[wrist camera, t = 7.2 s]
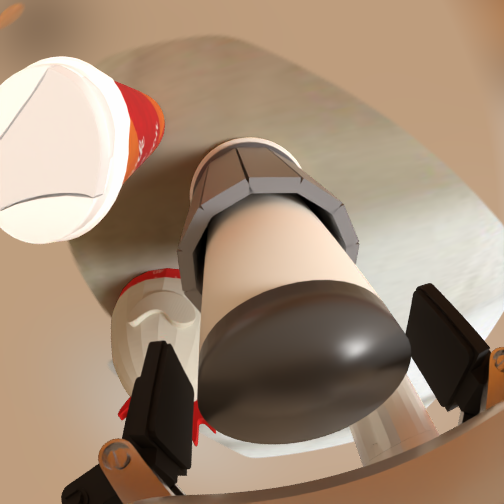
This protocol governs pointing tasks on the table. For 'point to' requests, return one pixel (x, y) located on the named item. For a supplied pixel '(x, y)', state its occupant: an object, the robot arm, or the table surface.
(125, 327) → the kitchen timer
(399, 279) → the table surface
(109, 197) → the coffee cup
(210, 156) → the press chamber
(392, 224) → the table surface
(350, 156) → the table surface
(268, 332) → the plunger
